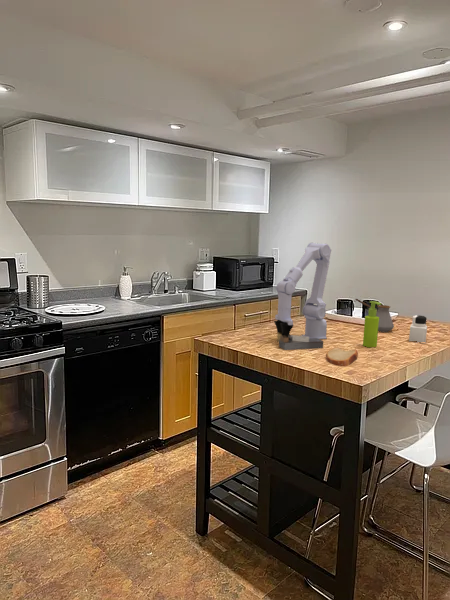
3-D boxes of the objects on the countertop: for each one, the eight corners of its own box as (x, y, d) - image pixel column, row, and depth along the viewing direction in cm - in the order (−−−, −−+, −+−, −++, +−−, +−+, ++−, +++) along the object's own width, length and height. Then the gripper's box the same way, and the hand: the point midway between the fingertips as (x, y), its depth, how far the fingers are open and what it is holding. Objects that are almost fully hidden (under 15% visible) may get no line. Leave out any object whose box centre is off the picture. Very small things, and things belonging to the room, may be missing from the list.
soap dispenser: (371, 348, 203) (375, 303, 200) (359, 345, 209) (363, 300, 206) (381, 347, 206) (385, 302, 203) (369, 343, 212) (373, 300, 209)
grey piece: (316, 344, 207) (317, 333, 206) (323, 348, 202) (323, 336, 201) (278, 346, 202) (279, 335, 201) (284, 349, 196) (285, 338, 195)
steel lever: (308, 341, 199) (309, 336, 199) (308, 342, 197) (308, 337, 196) (288, 339, 201) (288, 334, 201) (287, 340, 199) (288, 335, 199)
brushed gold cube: (285, 340, 213) (285, 332, 212) (289, 343, 208) (289, 334, 208) (276, 341, 211) (277, 332, 211) (281, 343, 207) (281, 334, 207)
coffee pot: (396, 330, 243) (399, 302, 241) (389, 334, 234) (391, 304, 231) (356, 324, 255) (358, 297, 253) (348, 327, 246) (350, 299, 244)
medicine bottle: (425, 340, 223) (428, 315, 221) (425, 343, 216) (427, 317, 214) (409, 338, 226) (412, 314, 224) (408, 341, 219) (411, 316, 217)
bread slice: (338, 368, 174) (339, 358, 173) (311, 355, 190) (312, 346, 190) (377, 364, 181) (377, 354, 180) (347, 352, 197) (348, 343, 197)
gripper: (269, 305, 213) (268, 334, 215) (282, 310, 199) (281, 342, 202) (283, 305, 215) (282, 334, 217) (298, 310, 202) (296, 341, 204)
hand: (282, 337), depth 210 cm, fingers closed on brushed gold cube, 4 cm apart
